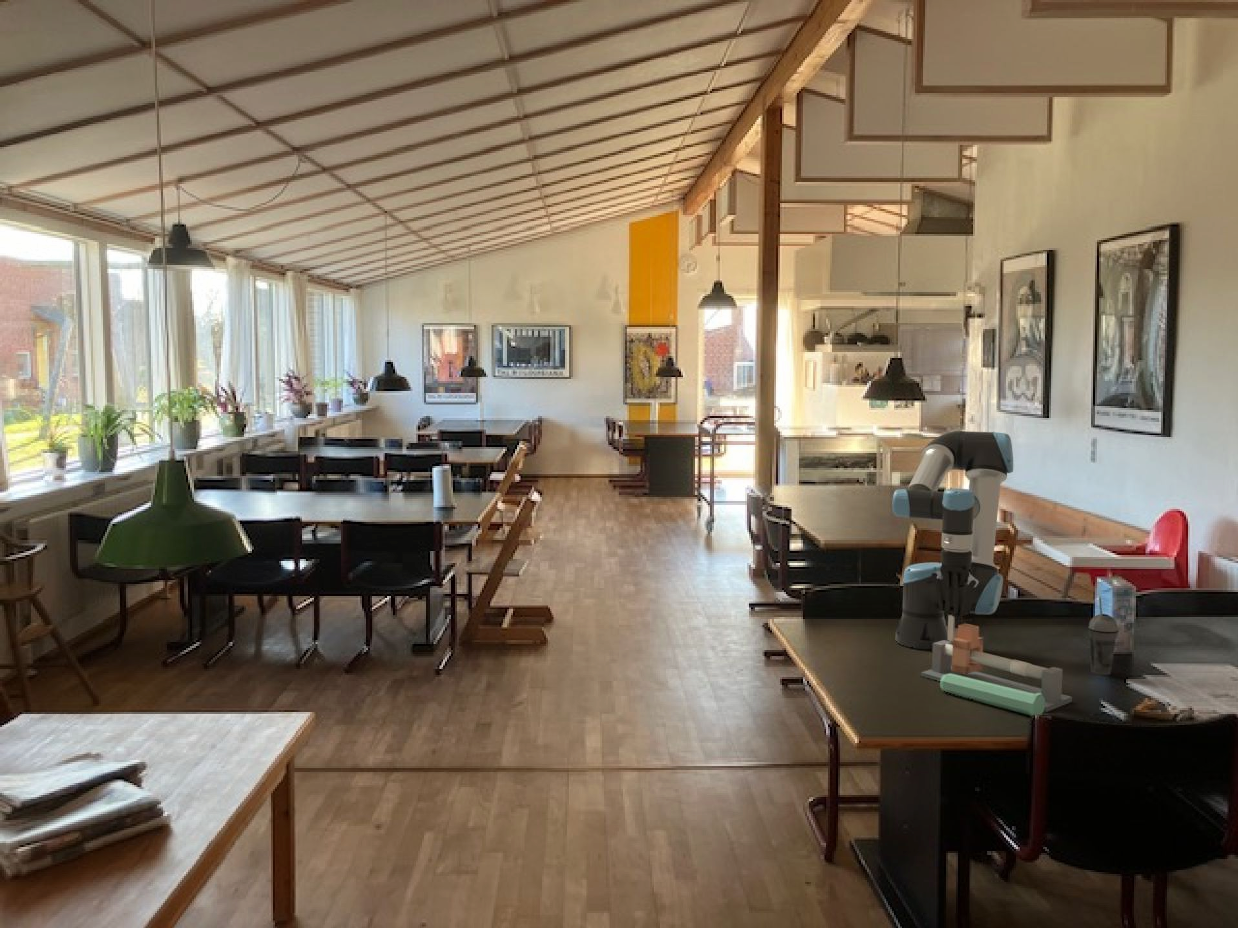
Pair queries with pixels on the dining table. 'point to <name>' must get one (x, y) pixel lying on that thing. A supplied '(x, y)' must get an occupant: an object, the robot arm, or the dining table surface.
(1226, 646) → the dining table surface
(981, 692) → the light green long prism
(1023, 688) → the rail
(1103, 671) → the beverage cup
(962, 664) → the collar
